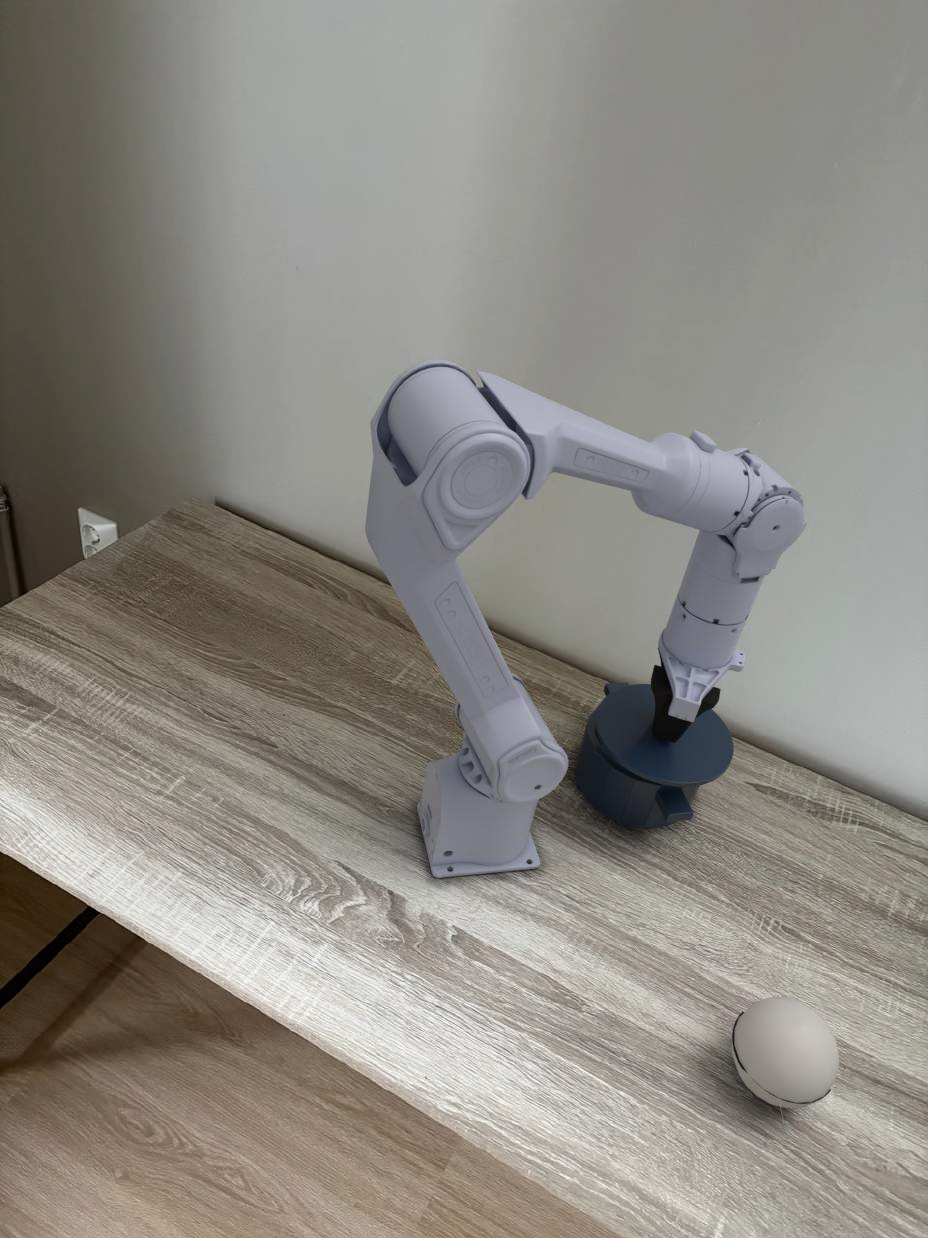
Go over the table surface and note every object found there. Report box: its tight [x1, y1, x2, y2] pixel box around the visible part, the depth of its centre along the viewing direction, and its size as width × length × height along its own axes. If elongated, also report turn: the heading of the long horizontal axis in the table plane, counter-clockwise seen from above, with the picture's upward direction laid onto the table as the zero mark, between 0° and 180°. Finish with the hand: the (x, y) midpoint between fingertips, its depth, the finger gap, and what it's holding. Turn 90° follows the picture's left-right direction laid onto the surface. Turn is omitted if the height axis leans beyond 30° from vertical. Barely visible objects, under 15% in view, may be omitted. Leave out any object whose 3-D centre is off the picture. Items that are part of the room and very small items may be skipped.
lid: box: [595, 683, 735, 787], centre depth 85 cm, size 12×12×5 cm
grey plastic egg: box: [731, 996, 840, 1140], centre depth 69 cm, size 10×7×7 cm
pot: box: [574, 681, 700, 829], centre depth 92 cm, size 11×17×6 cm
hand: (666, 726), depth 85 cm, fingers closed on lid, 2 cm apart
